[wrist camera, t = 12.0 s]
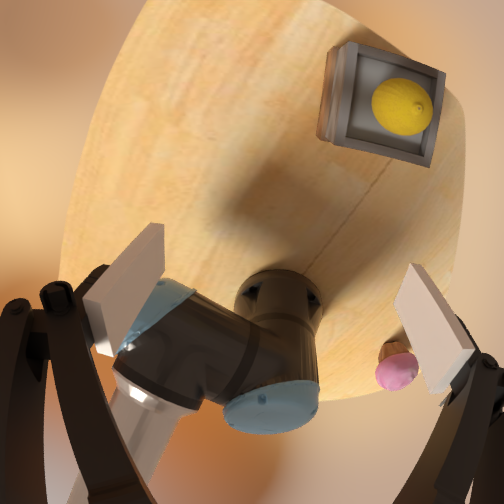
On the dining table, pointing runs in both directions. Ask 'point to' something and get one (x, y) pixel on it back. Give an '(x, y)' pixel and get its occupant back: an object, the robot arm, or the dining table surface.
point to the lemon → (402, 106)
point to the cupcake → (396, 366)
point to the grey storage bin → (360, 97)
